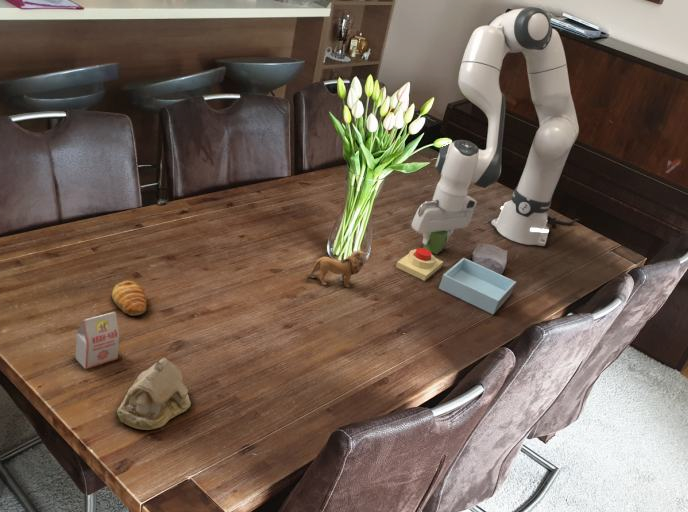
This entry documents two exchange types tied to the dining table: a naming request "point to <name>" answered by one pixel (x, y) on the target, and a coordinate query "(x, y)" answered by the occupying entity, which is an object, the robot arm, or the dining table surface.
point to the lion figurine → (339, 266)
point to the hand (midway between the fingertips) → (434, 242)
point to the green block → (436, 241)
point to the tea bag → (97, 340)
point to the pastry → (130, 298)
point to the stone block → (490, 257)
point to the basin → (477, 285)
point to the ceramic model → (155, 397)
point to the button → (423, 254)
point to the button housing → (419, 265)
